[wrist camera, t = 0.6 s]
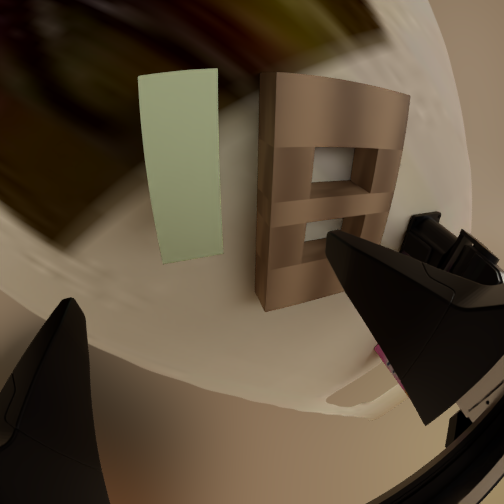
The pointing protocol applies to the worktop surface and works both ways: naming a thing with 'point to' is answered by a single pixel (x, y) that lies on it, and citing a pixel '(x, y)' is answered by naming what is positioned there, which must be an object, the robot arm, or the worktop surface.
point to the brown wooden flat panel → (320, 193)
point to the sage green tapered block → (183, 161)
